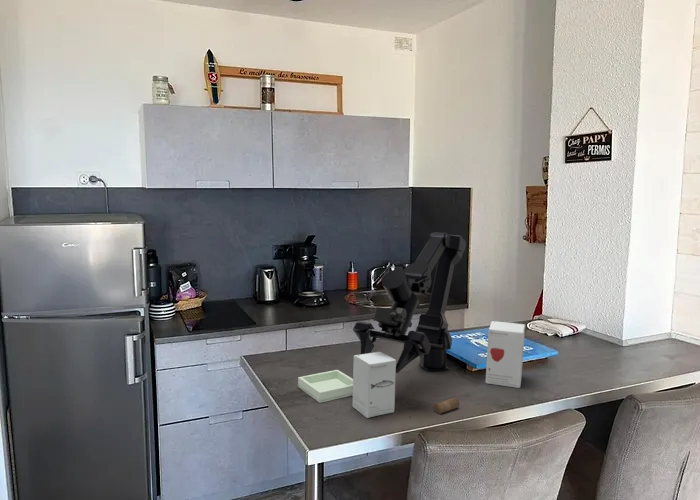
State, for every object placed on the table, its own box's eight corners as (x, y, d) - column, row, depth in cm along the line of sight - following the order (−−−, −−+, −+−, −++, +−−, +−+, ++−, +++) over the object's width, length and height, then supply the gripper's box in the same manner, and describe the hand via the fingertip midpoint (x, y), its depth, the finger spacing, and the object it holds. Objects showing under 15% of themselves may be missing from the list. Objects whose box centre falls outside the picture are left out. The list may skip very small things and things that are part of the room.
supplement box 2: (484, 383, 142) (487, 328, 140) (488, 372, 150) (490, 320, 148) (520, 388, 138) (523, 332, 137) (522, 377, 147) (525, 323, 145)
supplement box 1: (367, 419, 119) (368, 364, 118) (351, 406, 126) (352, 354, 124) (395, 413, 123) (397, 359, 121) (378, 401, 129) (380, 350, 128)
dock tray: (337, 378, 144) (337, 369, 143) (360, 393, 134) (361, 383, 133) (298, 386, 137) (298, 377, 137) (319, 402, 128) (319, 392, 127)
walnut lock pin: (450, 397, 128) (458, 397, 126) (452, 407, 127) (460, 407, 125) (432, 403, 124) (440, 403, 122) (434, 414, 124) (442, 414, 122)
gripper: (357, 289, 132) (331, 343, 124) (427, 298, 122) (403, 358, 114) (372, 314, 140) (349, 367, 132) (439, 325, 130) (418, 383, 122)
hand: (378, 368), depth 125 cm, fingers open, 9 cm apart
